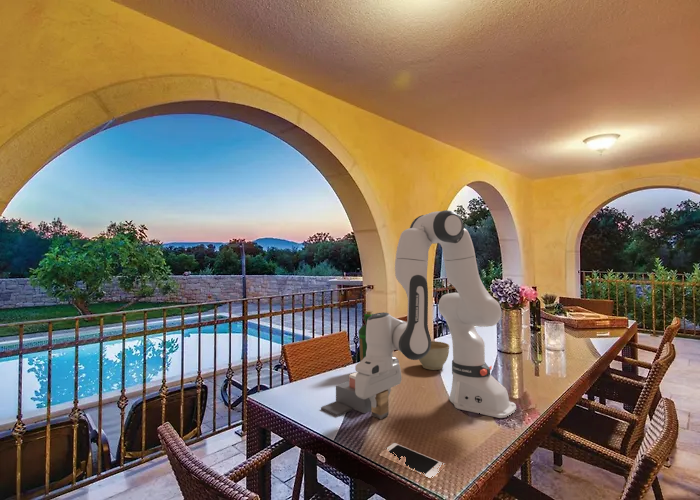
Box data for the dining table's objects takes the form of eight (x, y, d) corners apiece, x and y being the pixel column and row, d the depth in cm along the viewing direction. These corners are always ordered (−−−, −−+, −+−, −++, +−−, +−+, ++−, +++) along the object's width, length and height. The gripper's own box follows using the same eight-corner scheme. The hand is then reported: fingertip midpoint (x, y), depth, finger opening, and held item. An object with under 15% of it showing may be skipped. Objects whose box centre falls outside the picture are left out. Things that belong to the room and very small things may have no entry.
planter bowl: (446, 362, 175) (446, 340, 175) (452, 373, 159) (452, 349, 159) (413, 362, 176) (413, 340, 177) (416, 372, 160) (416, 348, 161)
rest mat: (351, 410, 120) (351, 407, 120) (337, 416, 115) (337, 414, 115) (335, 403, 126) (335, 401, 126) (321, 409, 121) (321, 407, 121)
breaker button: (368, 388, 126) (368, 374, 126) (359, 392, 123) (359, 377, 123) (358, 384, 130) (358, 371, 130) (349, 388, 126) (349, 374, 126)
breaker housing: (383, 404, 125) (382, 387, 125) (364, 413, 118) (364, 395, 118) (354, 394, 135) (354, 378, 135) (335, 402, 127) (335, 385, 128)
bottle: (369, 367, 168) (368, 309, 169) (386, 372, 161) (385, 311, 162) (353, 372, 161) (353, 311, 162) (370, 377, 153) (370, 313, 154)
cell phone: (431, 481, 82) (431, 479, 82) (377, 456, 93) (377, 454, 93) (447, 466, 88) (447, 464, 88) (394, 444, 98) (394, 442, 98)
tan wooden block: (388, 415, 116) (388, 390, 116) (380, 419, 113) (380, 394, 113) (379, 411, 119) (378, 387, 119) (371, 415, 116) (371, 391, 116)
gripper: (391, 354, 126) (391, 392, 125) (351, 367, 111) (352, 411, 111) (405, 357, 121) (406, 397, 121) (366, 371, 107) (367, 417, 106)
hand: (380, 404), depth 116 cm, fingers closed on tan wooden block, 4 cm apart
